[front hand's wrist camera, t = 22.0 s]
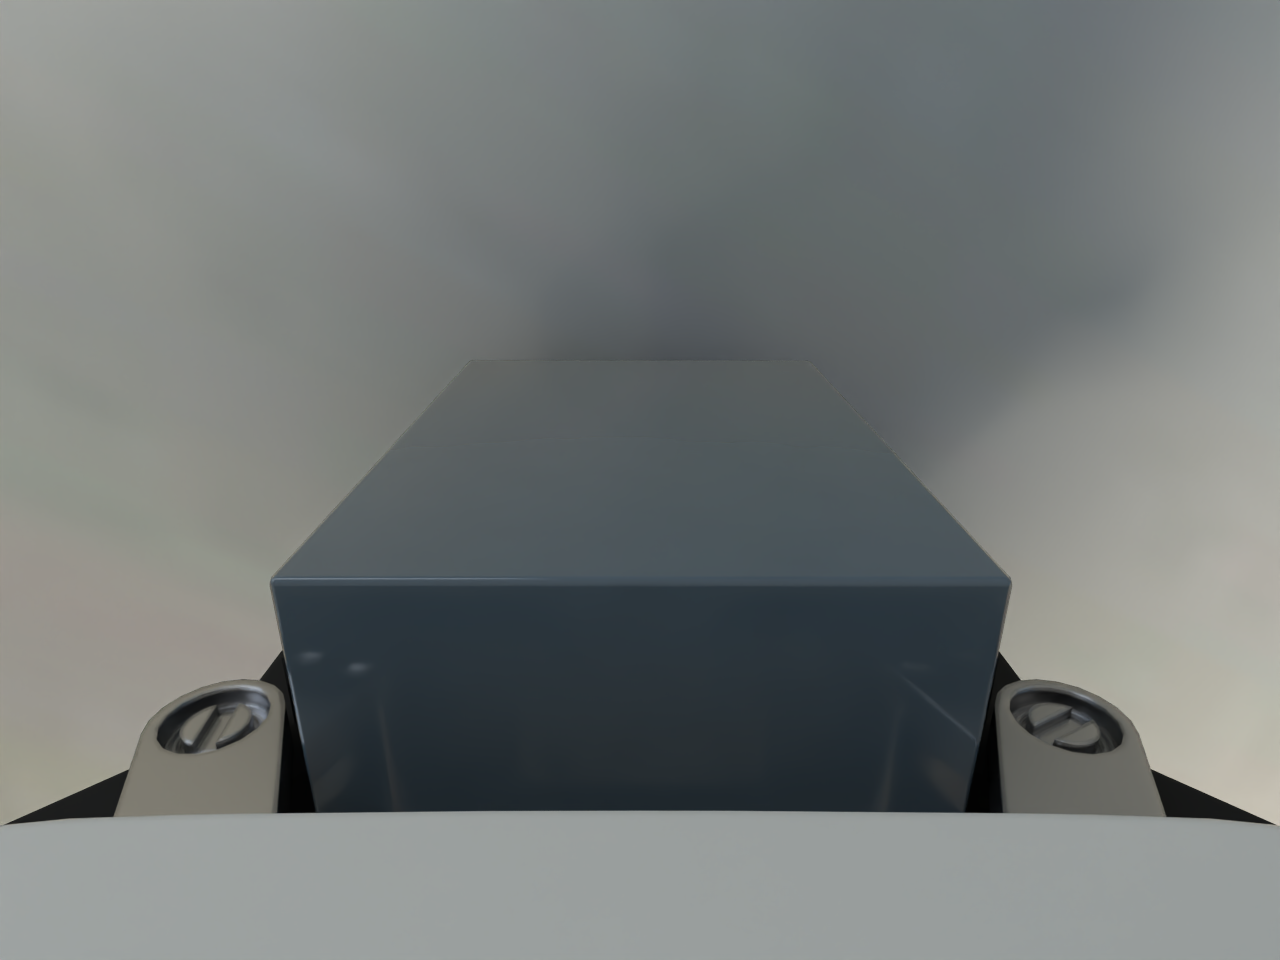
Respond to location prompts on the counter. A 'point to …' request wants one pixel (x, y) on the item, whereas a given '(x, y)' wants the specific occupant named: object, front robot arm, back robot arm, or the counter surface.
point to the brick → (640, 604)
